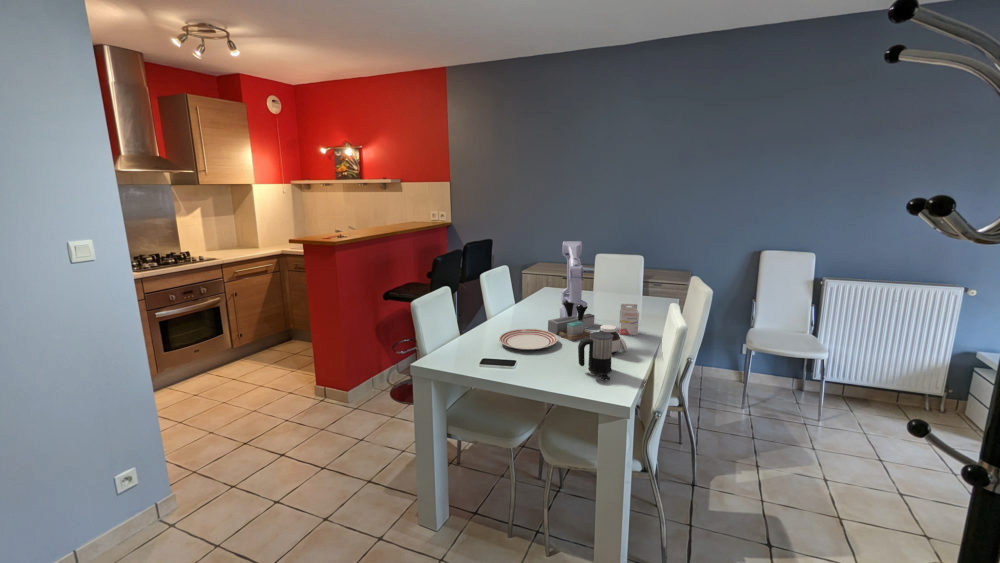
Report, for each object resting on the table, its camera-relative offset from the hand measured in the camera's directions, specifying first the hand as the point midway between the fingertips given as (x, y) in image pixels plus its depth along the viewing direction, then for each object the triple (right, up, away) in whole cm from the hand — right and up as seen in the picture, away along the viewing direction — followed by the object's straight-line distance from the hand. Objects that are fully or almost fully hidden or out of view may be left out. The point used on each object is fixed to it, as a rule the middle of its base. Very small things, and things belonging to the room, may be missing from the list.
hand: (575, 318), depth 230 cm
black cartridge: (+9, -6, +18) cm, 21 cm away
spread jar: (+13, -14, -20) cm, 27 cm away
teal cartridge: (0, -8, +2) cm, 9 cm away
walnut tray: (0, -9, +2) cm, 9 cm away
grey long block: (-3, -7, +11) cm, 14 cm away
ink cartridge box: (+27, -8, +5) cm, 29 cm away
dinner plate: (-23, -12, -8) cm, 27 cm away
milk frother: (+3, -19, -44) cm, 48 cm away
